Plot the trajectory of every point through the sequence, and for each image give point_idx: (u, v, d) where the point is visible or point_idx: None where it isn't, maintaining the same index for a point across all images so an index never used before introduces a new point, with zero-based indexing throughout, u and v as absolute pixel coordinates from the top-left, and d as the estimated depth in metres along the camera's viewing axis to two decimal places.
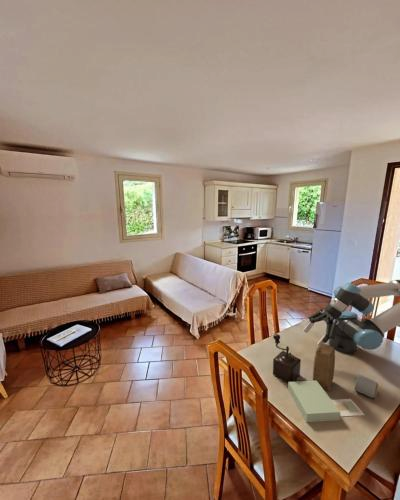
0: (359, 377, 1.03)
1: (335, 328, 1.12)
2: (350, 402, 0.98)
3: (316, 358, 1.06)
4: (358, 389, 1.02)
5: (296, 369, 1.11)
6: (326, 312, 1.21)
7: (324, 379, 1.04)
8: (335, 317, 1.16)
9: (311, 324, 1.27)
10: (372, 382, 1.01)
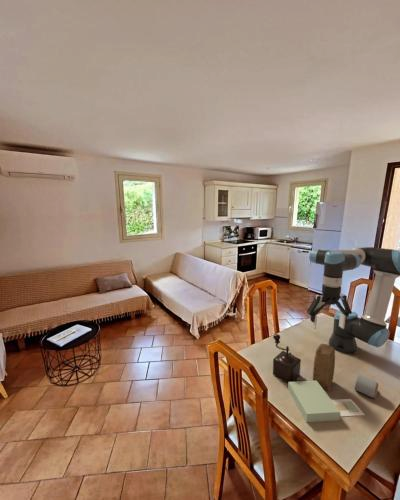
0: (359, 377, 1.04)
1: None
2: (350, 402, 0.98)
3: (316, 358, 1.06)
4: (358, 388, 1.02)
5: (296, 369, 1.11)
6: (328, 295, 1.01)
7: (324, 379, 1.04)
8: None
9: None
10: (372, 382, 1.01)
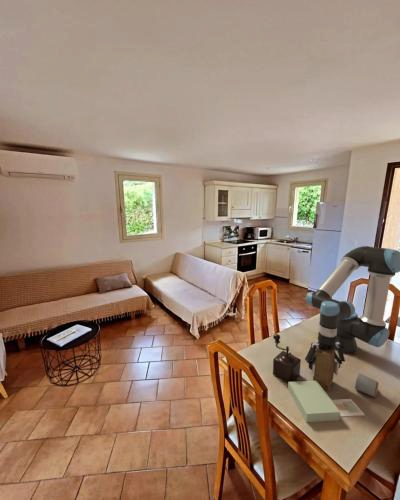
0: (359, 376, 1.04)
1: None
2: (350, 402, 0.98)
3: (316, 358, 1.06)
4: (359, 387, 1.03)
5: (296, 369, 1.11)
6: (323, 344, 1.05)
7: (324, 379, 1.04)
8: None
9: None
10: (372, 381, 1.01)
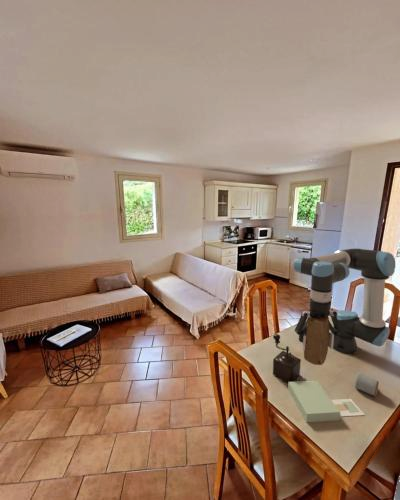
0: (360, 375, 1.05)
1: None
2: (350, 402, 0.98)
3: (307, 328, 0.90)
4: (359, 386, 1.03)
5: (296, 369, 1.11)
6: (315, 311, 0.89)
7: (316, 352, 0.89)
8: None
9: None
10: (372, 380, 1.02)
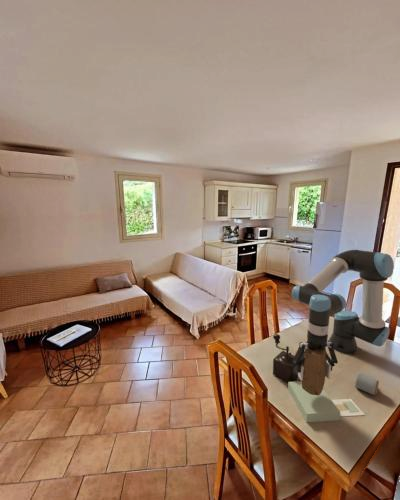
0: (360, 374, 1.05)
1: None
2: (350, 402, 0.98)
3: (305, 359, 0.93)
4: (359, 386, 1.04)
5: (296, 369, 1.11)
6: (313, 343, 0.92)
7: (313, 383, 0.91)
8: None
9: None
10: (372, 379, 1.02)
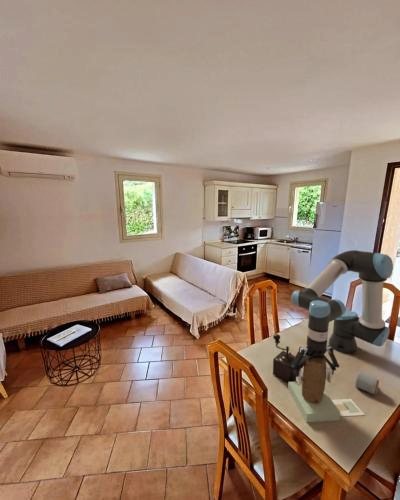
0: (360, 374, 1.06)
1: None
2: (350, 402, 0.98)
3: (305, 368, 0.94)
4: (359, 385, 1.04)
5: None
6: (313, 349, 0.93)
7: (314, 391, 0.92)
8: None
9: None
10: (373, 379, 1.03)
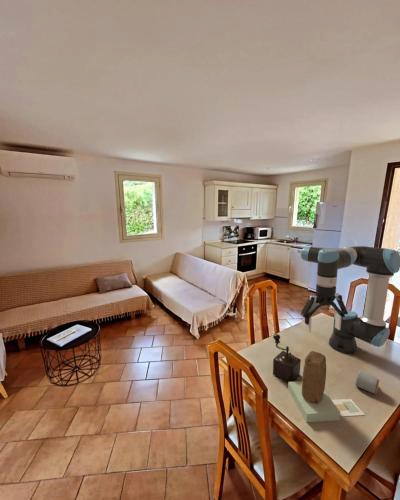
0: (360, 373, 1.06)
1: None
2: (350, 402, 0.98)
3: (305, 368, 0.94)
4: (359, 384, 1.05)
5: (296, 369, 1.11)
6: (322, 296, 0.95)
7: (314, 391, 0.92)
8: None
9: None
10: (373, 378, 1.03)
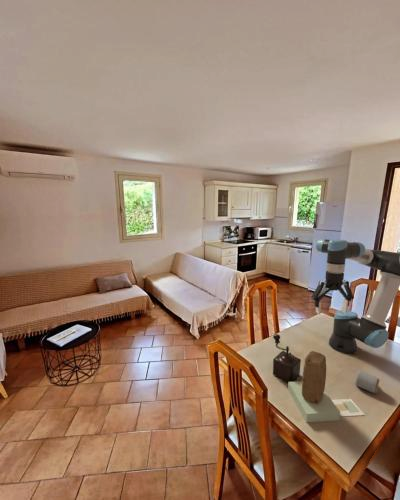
0: (360, 373, 1.06)
1: None
2: (350, 402, 0.98)
3: (305, 368, 0.94)
4: (359, 384, 1.05)
5: (296, 369, 1.11)
6: (331, 282, 1.06)
7: (314, 391, 0.92)
8: None
9: None
10: (373, 377, 1.03)
